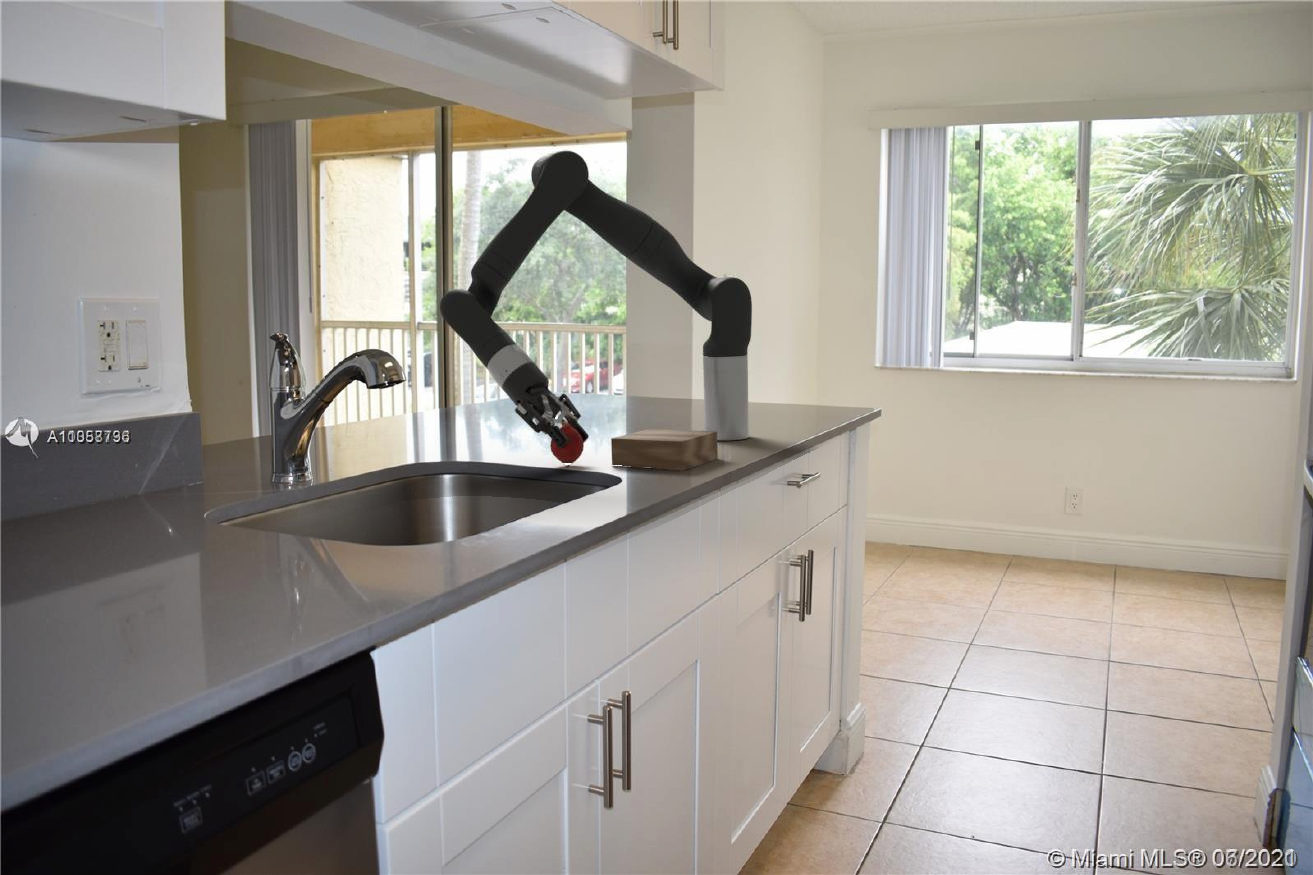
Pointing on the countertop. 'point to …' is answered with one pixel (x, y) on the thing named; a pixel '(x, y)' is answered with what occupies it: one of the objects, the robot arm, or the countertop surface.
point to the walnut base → (665, 449)
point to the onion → (568, 445)
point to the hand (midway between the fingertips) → (575, 442)
